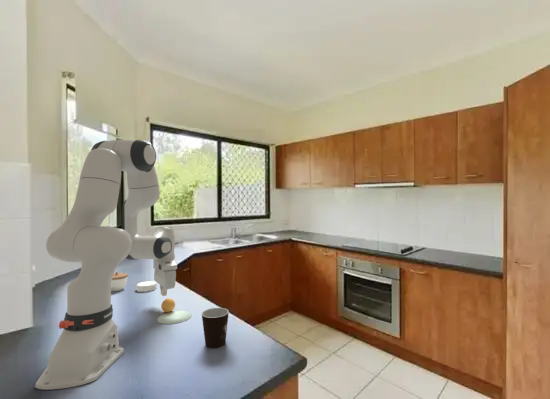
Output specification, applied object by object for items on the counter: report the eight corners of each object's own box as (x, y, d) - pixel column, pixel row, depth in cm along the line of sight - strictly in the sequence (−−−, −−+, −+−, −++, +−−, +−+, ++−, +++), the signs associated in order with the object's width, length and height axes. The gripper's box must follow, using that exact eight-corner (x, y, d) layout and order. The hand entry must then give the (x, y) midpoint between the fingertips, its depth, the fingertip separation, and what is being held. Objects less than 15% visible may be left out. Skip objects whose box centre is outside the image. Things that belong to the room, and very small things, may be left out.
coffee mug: (215, 352, 86) (215, 319, 86) (196, 345, 90) (196, 314, 91) (240, 337, 96) (239, 307, 96) (221, 331, 100) (221, 303, 100)
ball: (169, 302, 124) (172, 314, 121) (157, 303, 120) (160, 315, 117) (175, 295, 122) (179, 306, 119) (163, 296, 118) (167, 308, 115)
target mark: (189, 322, 109) (189, 321, 109) (154, 325, 106) (154, 325, 106) (192, 310, 121) (192, 309, 121) (160, 312, 119) (160, 312, 119)
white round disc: (149, 286, 160) (149, 279, 160) (160, 288, 155) (160, 282, 155) (132, 290, 151) (132, 284, 151) (144, 293, 146) (144, 286, 146)
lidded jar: (120, 292, 147) (120, 274, 147) (100, 292, 147) (100, 274, 148) (131, 286, 158) (131, 270, 158) (112, 286, 158) (112, 270, 158)
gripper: (150, 261, 131) (150, 291, 131) (163, 267, 115) (162, 302, 114) (164, 259, 135) (164, 289, 134) (178, 265, 119) (178, 299, 118)
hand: (163, 295), depth 124 cm, fingers closed
